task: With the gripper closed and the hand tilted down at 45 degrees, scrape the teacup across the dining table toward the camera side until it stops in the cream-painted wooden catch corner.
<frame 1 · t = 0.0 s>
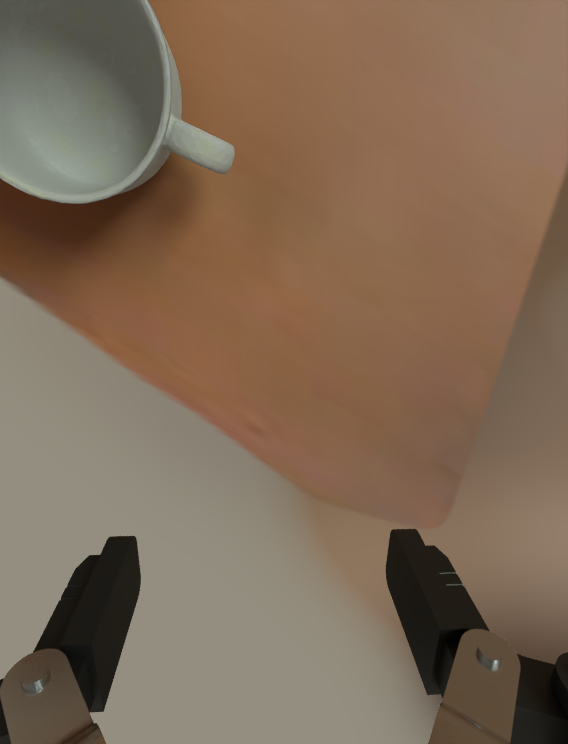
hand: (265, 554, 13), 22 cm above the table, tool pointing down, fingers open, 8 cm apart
teacup: (128, 112, 27), on the table
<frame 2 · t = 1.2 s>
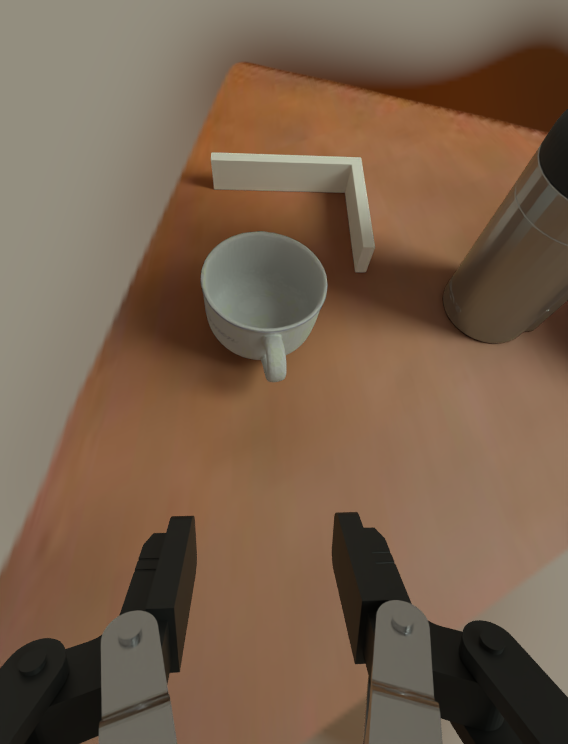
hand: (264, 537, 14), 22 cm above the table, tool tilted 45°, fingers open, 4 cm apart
catch corner: (285, 187, 52), on the table
teacup: (262, 339, 43), on the table
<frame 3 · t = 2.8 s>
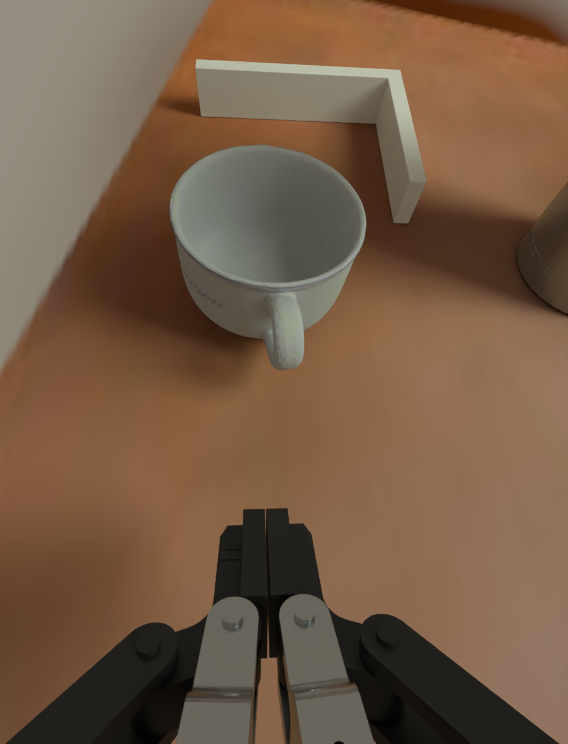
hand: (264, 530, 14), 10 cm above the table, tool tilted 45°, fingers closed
catch corner: (296, 116, 39), on the table
teacup: (264, 312, 30), on the table
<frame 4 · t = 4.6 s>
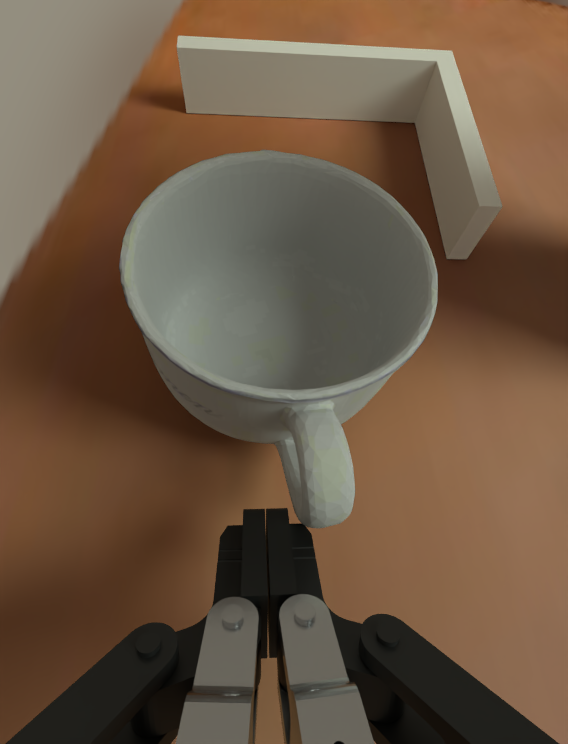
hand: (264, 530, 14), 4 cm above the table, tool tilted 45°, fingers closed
catch corner: (310, 112, 30), on the table
teacup: (273, 388, 21), on the table
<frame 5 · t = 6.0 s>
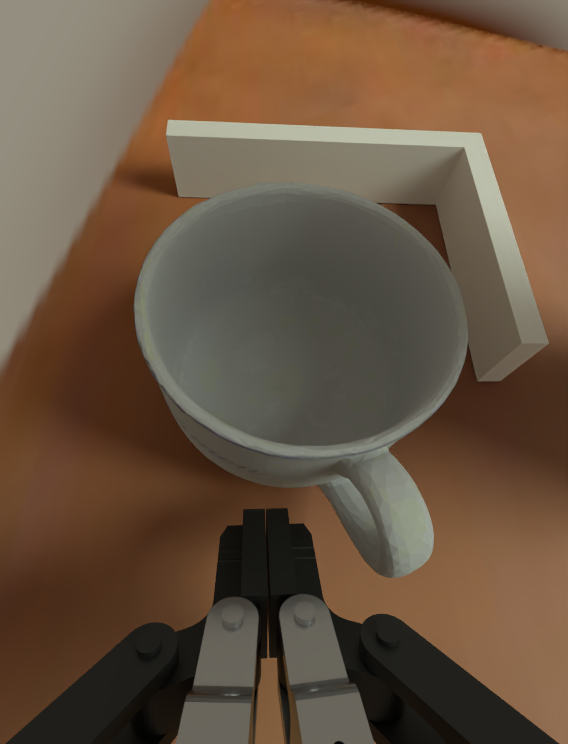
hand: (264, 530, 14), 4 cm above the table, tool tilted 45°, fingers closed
catch corner: (318, 193, 26), on the table
teacup: (294, 420, 20), on the table
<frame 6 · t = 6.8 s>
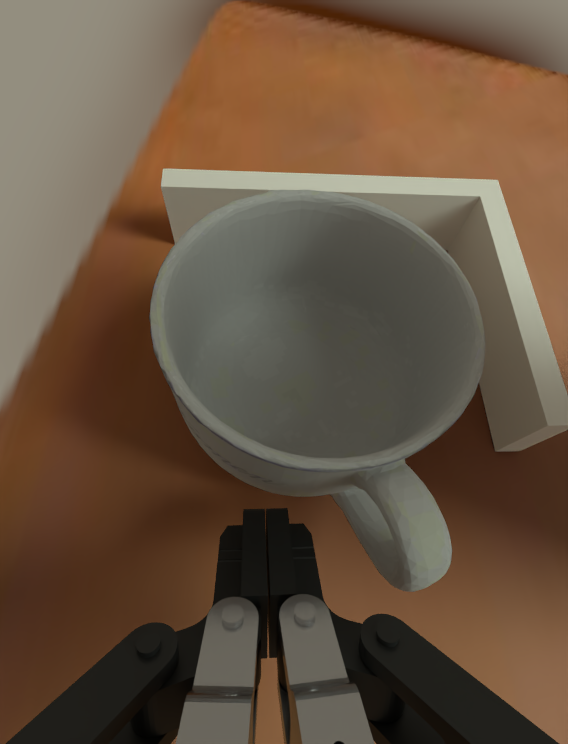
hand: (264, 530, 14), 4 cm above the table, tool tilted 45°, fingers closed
catch corner: (324, 239, 25), on the table
teacup: (305, 427, 20), on the table, touching gripper
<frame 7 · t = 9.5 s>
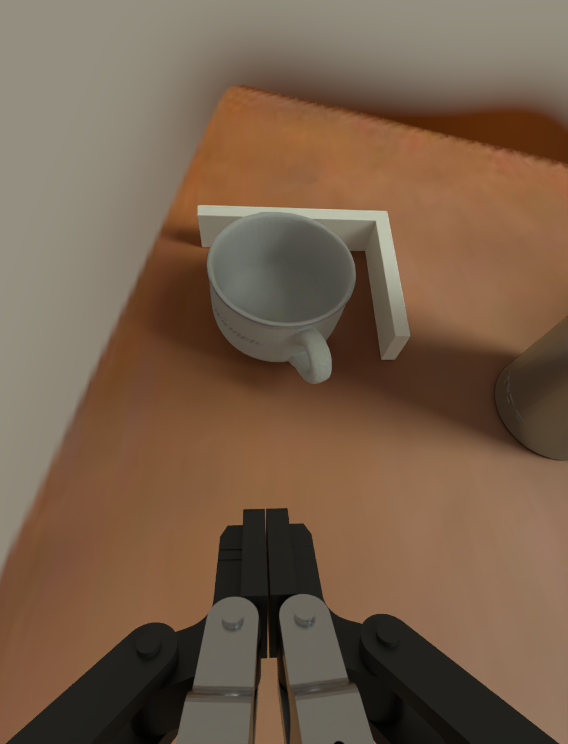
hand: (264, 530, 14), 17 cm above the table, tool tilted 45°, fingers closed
catch corner: (290, 244, 42), on the table
teacup: (279, 338, 37), on the table
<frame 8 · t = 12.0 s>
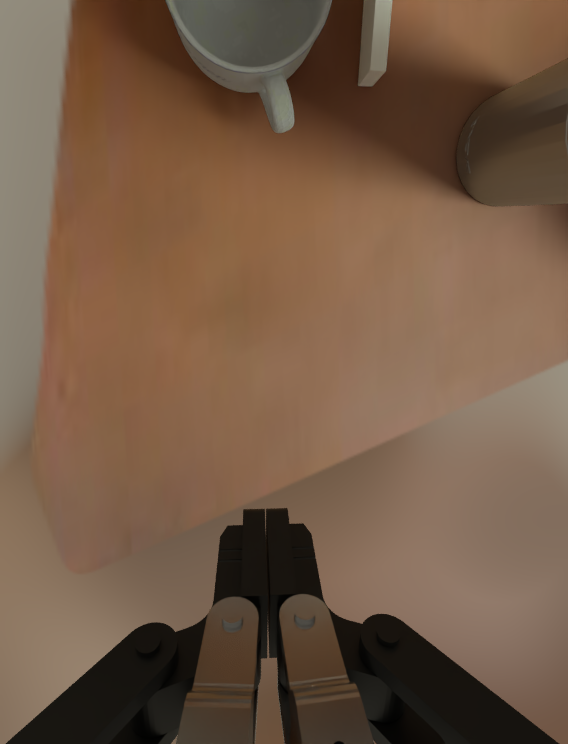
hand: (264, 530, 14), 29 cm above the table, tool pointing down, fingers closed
teacup: (252, 50, 34), on the table
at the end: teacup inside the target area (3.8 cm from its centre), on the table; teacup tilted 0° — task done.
